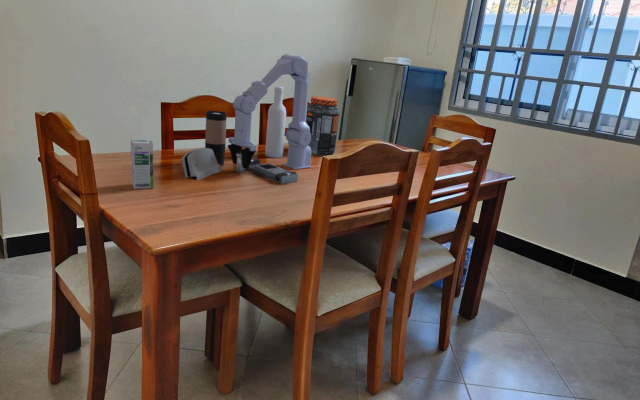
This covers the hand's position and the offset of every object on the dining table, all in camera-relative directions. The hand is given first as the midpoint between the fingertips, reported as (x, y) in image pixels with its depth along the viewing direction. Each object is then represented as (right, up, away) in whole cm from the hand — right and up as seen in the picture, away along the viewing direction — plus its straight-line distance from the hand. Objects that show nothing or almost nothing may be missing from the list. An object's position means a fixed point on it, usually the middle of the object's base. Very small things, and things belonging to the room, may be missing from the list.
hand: (240, 165), depth 163 cm
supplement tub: (+29, +10, +48) cm, 57 cm away
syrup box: (-26, -9, -27) cm, 38 cm away
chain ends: (+10, -3, +2) cm, 10 cm away
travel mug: (-12, +1, +7) cm, 14 cm away
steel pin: (0, -2, +1) cm, 2 cm away
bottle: (+9, +7, +31) cm, 33 cm away
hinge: (-13, -3, -6) cm, 15 cm away
